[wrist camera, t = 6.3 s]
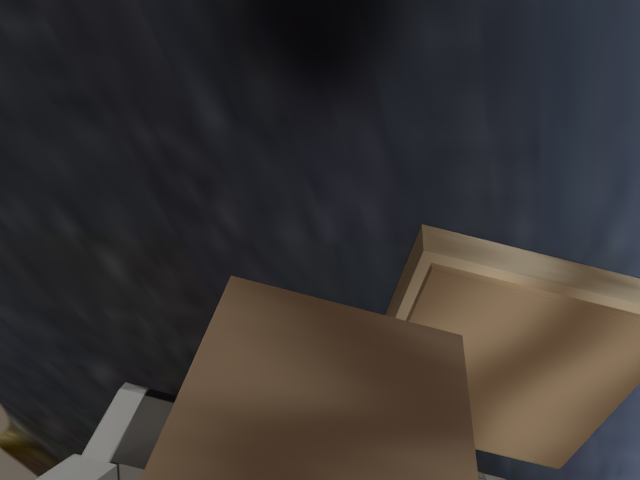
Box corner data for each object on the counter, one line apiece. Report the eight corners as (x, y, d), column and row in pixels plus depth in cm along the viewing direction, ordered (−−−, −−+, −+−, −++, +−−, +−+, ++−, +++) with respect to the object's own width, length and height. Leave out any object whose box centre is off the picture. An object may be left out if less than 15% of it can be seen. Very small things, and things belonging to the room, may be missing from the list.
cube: (462, 335, 11) (493, 613, 7) (393, 459, 14) (385, 703, 10) (231, 275, 11) (122, 519, 7) (212, 413, 14) (128, 638, 10)
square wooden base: (677, 288, 23) (704, 327, 21) (552, 435, 30) (563, 475, 28) (421, 224, 23) (424, 257, 21) (355, 388, 30) (352, 425, 28)
